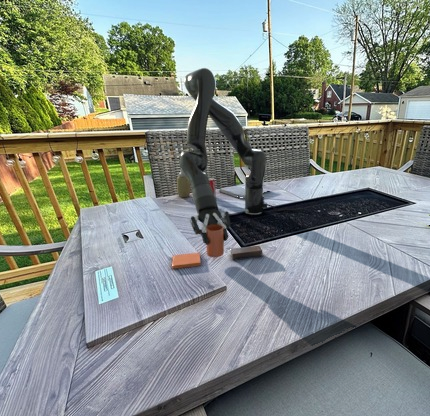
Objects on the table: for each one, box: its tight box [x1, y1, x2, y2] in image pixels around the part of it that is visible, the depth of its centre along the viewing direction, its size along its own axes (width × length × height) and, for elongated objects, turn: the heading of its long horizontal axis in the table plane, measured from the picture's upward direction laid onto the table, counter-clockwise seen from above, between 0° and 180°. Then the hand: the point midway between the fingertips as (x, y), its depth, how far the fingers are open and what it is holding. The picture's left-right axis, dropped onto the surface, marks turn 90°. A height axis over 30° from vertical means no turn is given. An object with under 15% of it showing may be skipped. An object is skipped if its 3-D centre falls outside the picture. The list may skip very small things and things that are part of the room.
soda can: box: [208, 177, 217, 197], centre depth 159 cm, size 7×7×12 cm
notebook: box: [219, 183, 245, 200], centre depth 177 cm, size 22×2×28 cm
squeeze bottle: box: [176, 168, 192, 198], centre depth 158 cm, size 8×8×18 cm
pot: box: [205, 224, 225, 258], centre depth 91 cm, size 6×6×10 cm
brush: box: [230, 245, 263, 261], centre depth 96 cm, size 11×4×3 cm, turn 108°
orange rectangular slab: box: [172, 252, 202, 270], centre depth 91 cm, size 9×7×1 cm
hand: (216, 241), depth 90 cm, fingers closed on pot, 6 cm apart
